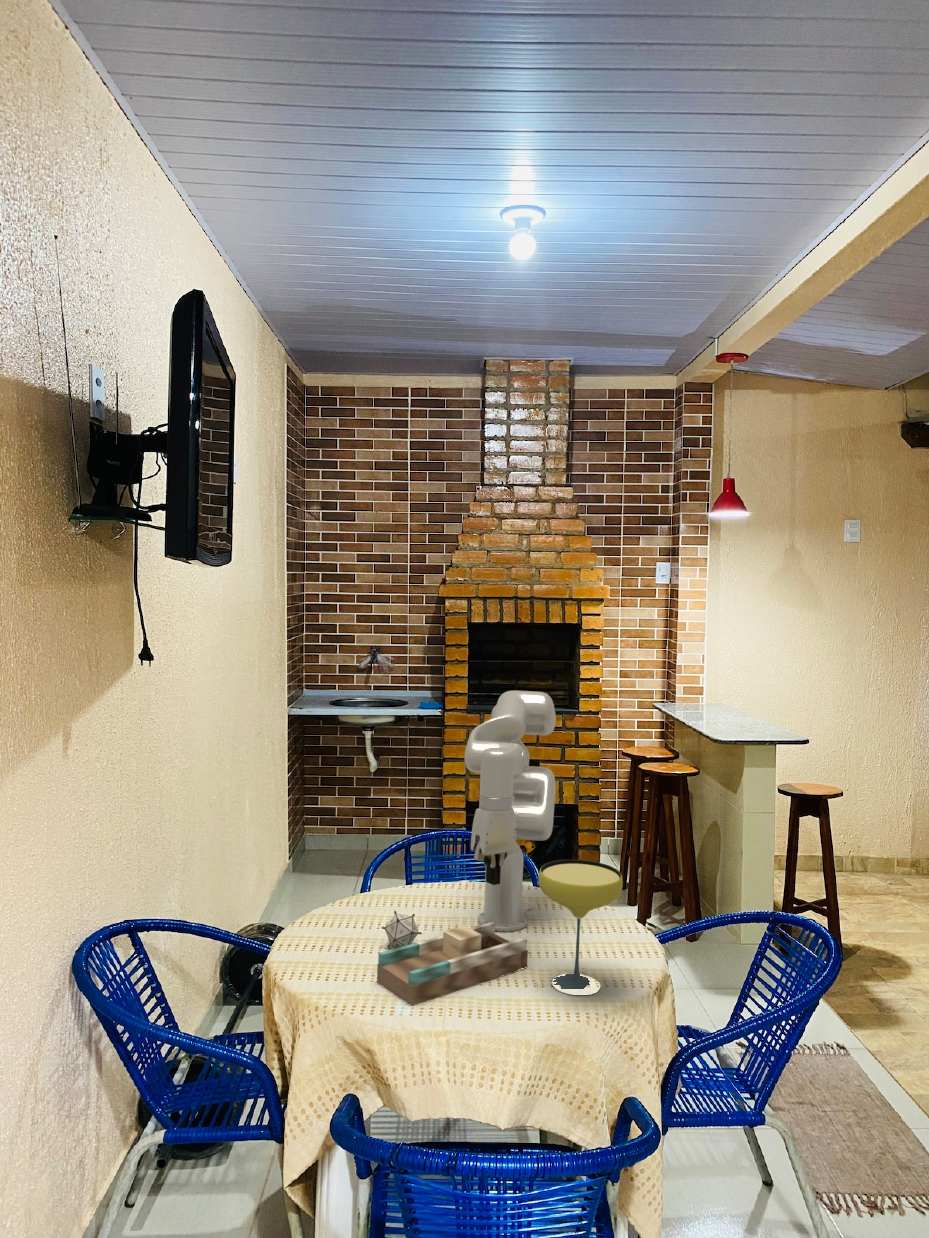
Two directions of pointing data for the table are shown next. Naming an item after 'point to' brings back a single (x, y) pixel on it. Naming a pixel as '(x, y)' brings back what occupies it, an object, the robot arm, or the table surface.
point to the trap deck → (447, 966)
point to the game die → (401, 930)
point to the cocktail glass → (579, 897)
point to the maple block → (460, 942)
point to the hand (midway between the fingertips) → (492, 882)
